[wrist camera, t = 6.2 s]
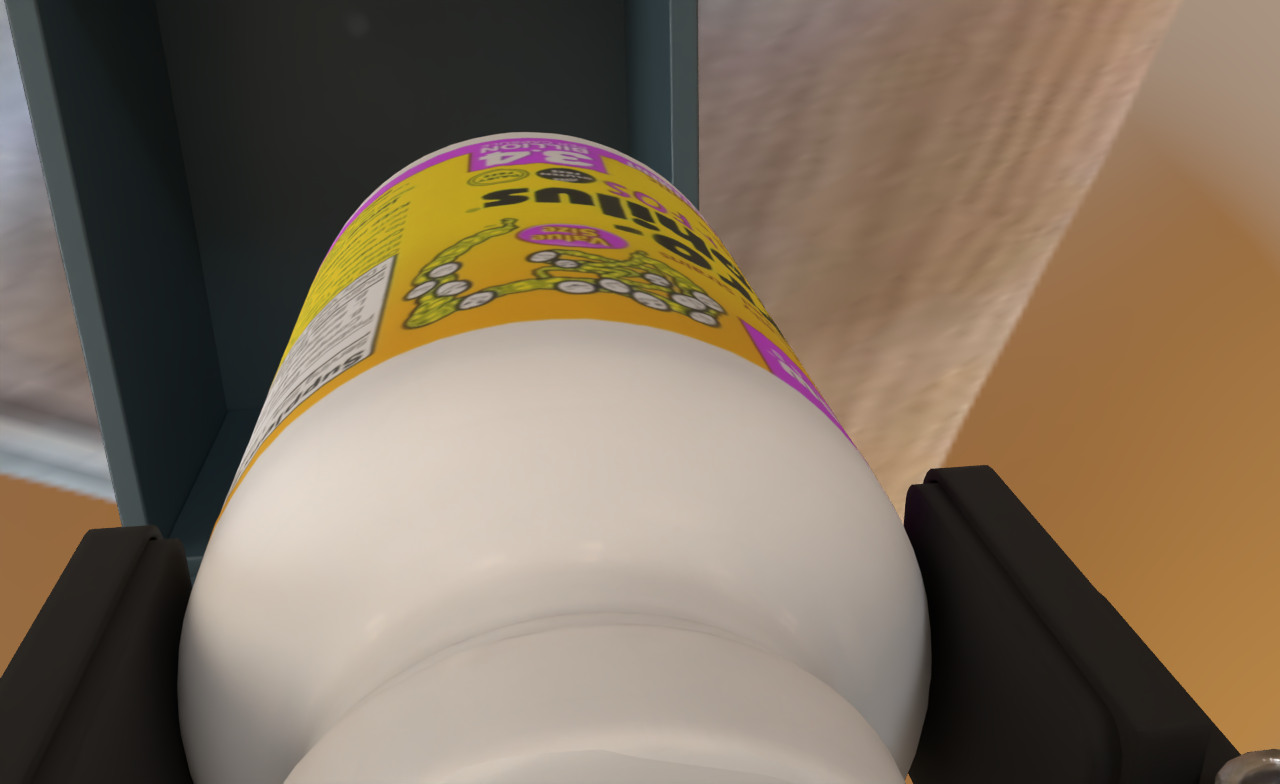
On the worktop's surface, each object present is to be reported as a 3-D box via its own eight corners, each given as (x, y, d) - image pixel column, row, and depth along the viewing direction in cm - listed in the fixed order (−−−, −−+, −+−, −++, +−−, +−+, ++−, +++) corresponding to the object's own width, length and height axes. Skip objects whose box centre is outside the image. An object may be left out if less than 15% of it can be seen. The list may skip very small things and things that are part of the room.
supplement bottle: (816, 288, 19) (1338, 919, 8) (567, 579, 21) (690, 1469, 9) (476, 23, 17) (490, 354, 5) (225, 372, 19) (-180, 1209, 7)
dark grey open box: (112, -134, 30) (-29, -138, 22) (640, -147, 31) (697, -156, 23) (214, 421, 36) (134, 585, 28) (652, 390, 37) (701, 538, 29)
